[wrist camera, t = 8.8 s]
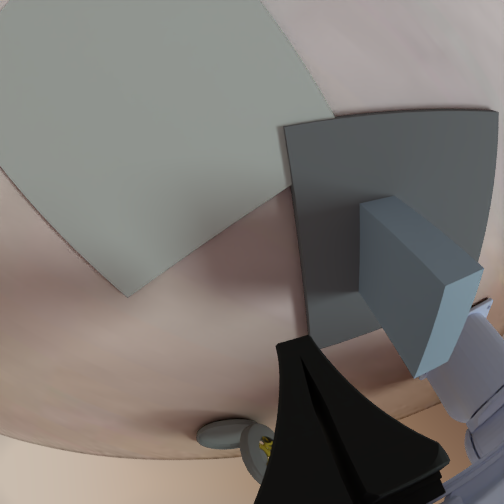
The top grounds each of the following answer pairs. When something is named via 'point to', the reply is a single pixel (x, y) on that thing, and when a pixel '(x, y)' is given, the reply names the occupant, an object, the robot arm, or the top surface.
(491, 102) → the top surface
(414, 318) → the blue-grey rectangular block
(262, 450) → the pocket watch
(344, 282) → the mat
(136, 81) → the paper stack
